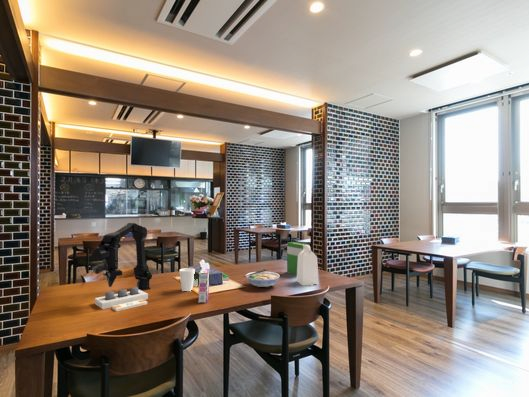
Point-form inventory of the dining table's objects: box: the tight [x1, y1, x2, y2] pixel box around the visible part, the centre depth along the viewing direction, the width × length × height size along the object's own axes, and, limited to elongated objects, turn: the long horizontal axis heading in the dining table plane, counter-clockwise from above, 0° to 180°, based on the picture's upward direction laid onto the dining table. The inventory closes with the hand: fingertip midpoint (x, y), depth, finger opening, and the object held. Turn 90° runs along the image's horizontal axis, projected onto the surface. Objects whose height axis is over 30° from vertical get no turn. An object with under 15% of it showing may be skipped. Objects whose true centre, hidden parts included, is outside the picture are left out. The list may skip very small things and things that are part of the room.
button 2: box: [129, 286, 138, 295], centre depth 173 cm, size 4×4×4 cm
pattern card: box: [111, 299, 148, 312], centre depth 161 cm, size 16×6×1 cm, turn 135°
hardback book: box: [286, 241, 310, 276], centre depth 238 cm, size 18×7×24 cm, turn 35°
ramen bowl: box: [243, 268, 281, 288], centre depth 201 cm, size 25×23×8 cm
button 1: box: [104, 291, 115, 300], centre depth 164 cm, size 4×4×4 cm
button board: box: [94, 290, 149, 310], centre depth 168 cm, size 24×12×3 cm, turn 135°
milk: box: [296, 244, 319, 286], centre depth 211 cm, size 12×12×26 cm
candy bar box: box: [197, 268, 210, 304], centre depth 172 cm, size 11×5×16 cm, turn 5°
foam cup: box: [179, 267, 196, 292], centre depth 190 cm, size 10×9×13 cm
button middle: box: [117, 288, 128, 298], centre depth 168 cm, size 4×4×4 cm
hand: (110, 286), depth 164 cm, fingers closed
